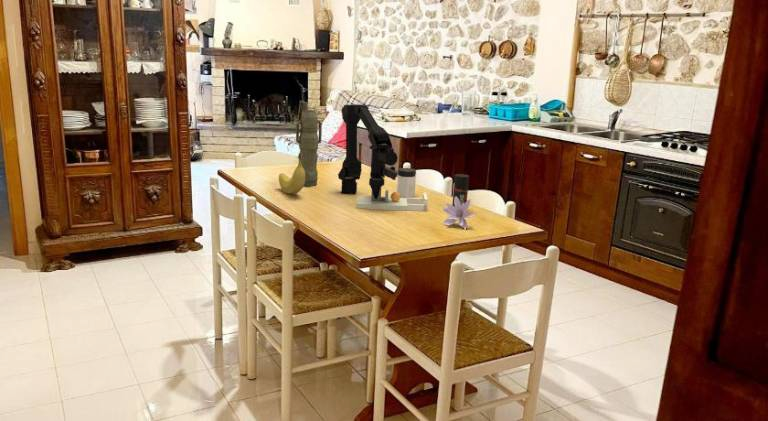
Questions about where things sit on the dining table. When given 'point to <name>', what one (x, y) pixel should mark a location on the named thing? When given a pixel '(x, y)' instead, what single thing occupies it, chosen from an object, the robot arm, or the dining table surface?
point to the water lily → (457, 213)
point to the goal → (417, 203)
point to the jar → (406, 182)
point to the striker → (380, 197)
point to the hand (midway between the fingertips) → (376, 197)
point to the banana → (293, 179)
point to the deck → (381, 204)
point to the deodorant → (460, 188)
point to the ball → (395, 196)
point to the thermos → (309, 145)
